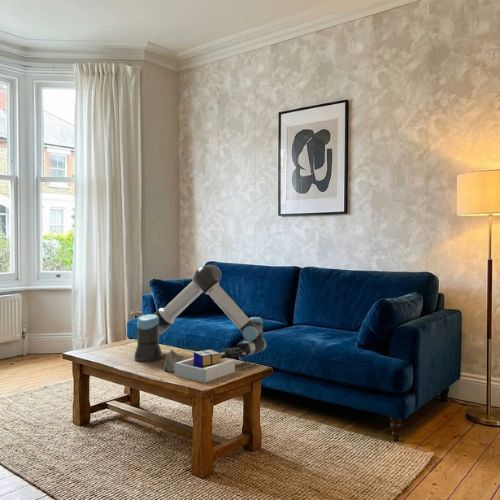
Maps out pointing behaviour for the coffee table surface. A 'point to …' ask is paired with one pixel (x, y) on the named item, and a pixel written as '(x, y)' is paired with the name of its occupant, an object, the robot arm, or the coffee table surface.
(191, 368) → the grey storage tray
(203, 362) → the puzzle cube
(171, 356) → the mineral rock
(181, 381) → the coffee table surface
